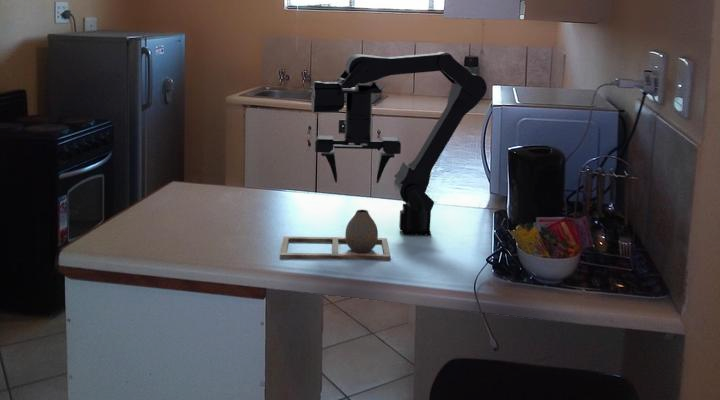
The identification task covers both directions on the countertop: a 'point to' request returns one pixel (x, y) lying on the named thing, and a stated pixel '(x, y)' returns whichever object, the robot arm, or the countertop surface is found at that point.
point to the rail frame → (335, 249)
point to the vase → (361, 232)
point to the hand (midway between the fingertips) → (356, 182)
